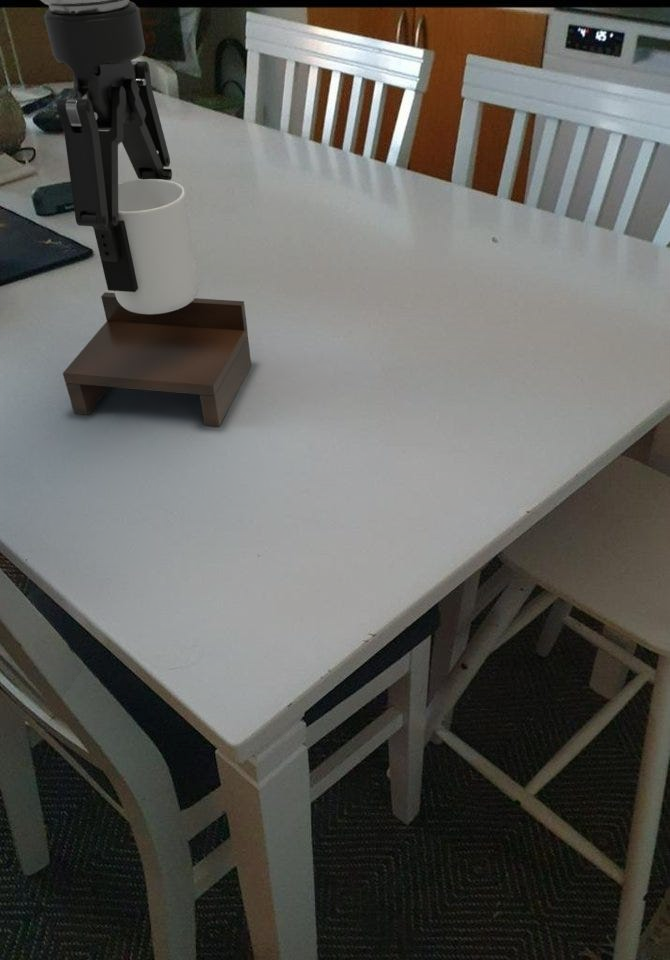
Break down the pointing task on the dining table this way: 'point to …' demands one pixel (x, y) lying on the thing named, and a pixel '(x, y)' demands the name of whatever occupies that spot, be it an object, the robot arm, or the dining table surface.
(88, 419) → the dining table surface
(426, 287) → the dining table surface
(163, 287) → the cup
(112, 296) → the shelf
